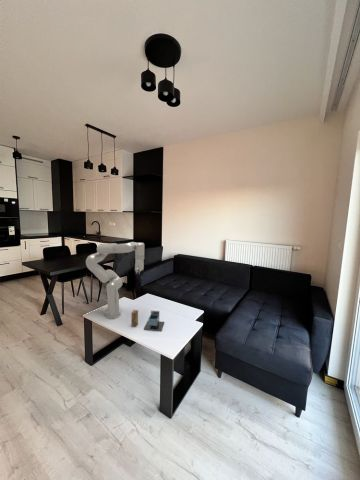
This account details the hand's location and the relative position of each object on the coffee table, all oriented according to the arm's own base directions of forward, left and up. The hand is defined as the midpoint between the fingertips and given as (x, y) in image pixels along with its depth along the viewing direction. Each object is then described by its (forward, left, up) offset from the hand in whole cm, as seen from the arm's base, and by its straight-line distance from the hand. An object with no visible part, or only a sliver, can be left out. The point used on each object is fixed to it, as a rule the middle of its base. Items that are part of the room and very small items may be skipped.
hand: (139, 276), depth 166 cm
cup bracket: (+16, -12, -36) cm, 42 cm away
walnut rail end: (0, -13, -37) cm, 39 cm away
